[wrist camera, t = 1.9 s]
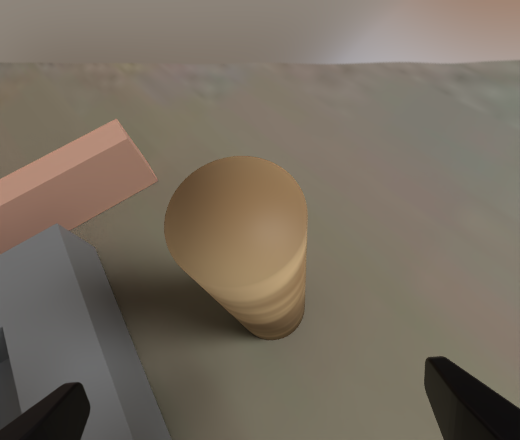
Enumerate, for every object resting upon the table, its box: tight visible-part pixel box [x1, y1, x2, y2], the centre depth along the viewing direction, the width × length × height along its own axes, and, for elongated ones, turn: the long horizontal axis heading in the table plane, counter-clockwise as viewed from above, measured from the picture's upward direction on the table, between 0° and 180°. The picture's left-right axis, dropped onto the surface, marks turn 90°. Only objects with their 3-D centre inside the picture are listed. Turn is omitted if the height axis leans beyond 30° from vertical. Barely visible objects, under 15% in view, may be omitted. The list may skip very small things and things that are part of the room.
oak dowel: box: [164, 156, 308, 340], centre depth 15 cm, size 4×4×12 cm
